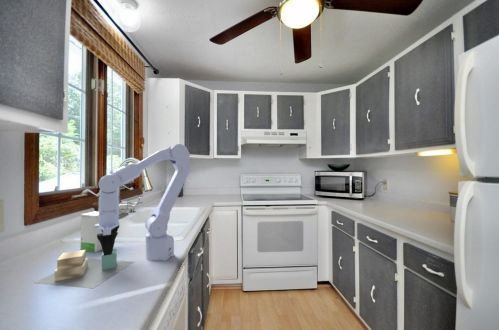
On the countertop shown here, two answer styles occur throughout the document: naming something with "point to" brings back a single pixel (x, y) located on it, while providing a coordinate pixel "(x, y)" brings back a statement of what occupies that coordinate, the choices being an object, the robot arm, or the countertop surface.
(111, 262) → the sage block
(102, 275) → the grey board
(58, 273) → the maple slab lower
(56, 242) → the countertop surface
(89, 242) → the skincare box
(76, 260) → the maple slab upper
